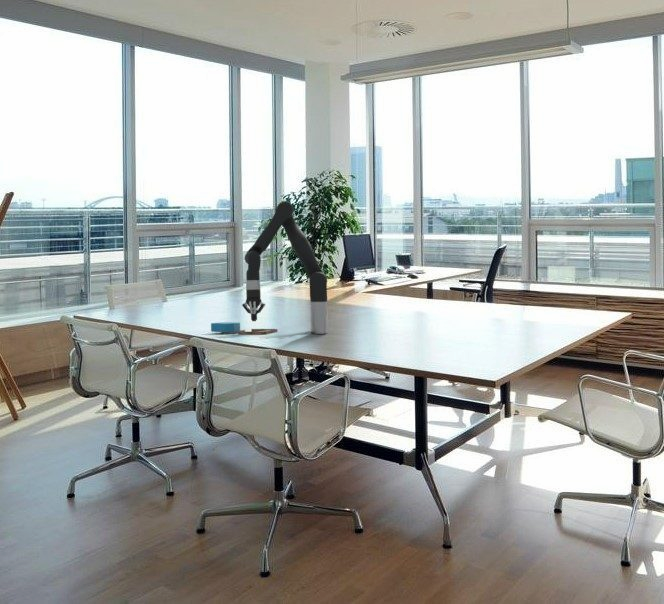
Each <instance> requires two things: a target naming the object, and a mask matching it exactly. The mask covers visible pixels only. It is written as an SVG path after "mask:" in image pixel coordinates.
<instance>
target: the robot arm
mask: <svg viewBox="0 0 664 604" xmlns="http://www.w3.org/2000/svg"><path fill="white" fill-rule="evenodd" d="M274 211H275V212H274V215H272V218H271V220H270V221H269V222H268V224H267V225H266V226H265V228H264V229H263V230H262V232H261V233H260V235H259V236H258V237H257V239H256V240H255V242H254V244H252V246H251V247H250V248H249V249H248V250H247V252H246V254H245V255H244V261H245V263H246V264H247V270H246V274H245V275H246V276H245V277H246V281H245V284H246V285H245V289H246V293H245V294H246V299H245V302H244V303H242V304H241V306H242V308H244V310H245V311H246V313H247V314H249V315H250V319H251V321H252V322H256V321H257V320H258V314H259V313H261V312H262V310H263V309H264V308H265V306H266V303H264V302H262V298H261V296H262V295H261V293H262V292H261V280H260V269H261V261H262V259H261V255H262V254H263V252H265V251H266V250H267V249H268V248H269V246H270V244H272V242H273V240H274V238H275V236H276V234H278V232H279V230H280V228H281V227H282V228H283V229H284V231H285V234H286V236H287V239H288V241H289V243H290V245H291V247H292V250H293V251H294V253H295V254H296V256H297V258H298V259H299V261H300V263H301V264H302V265H303V266H304V268H305V271H306V272H307V274H308V278H309V297H310V298H309V300H310V307H309V309H310V333H311V334H314V335H315V334H317V335H318V334H322V335H323V334H329V333H330V323H329V322H330V321H329V320H330V319H329V318H330V317H329V316H330V315H328V314H329V313H328V290H327V289H328V288H327V287H328V285H327V284H328V277H327V276H326V274H325V272H324V270H322V268H321V266H320V265H319V263H318V261H317V259H316V256H315V255H316V254H315V252H314V250H313V248H312V245H311V243H310V242H309V239H308V238H307V236H306V235H305V233H304V232H303V231H302V230H301V228H300V227H299V226H298V224H297V222H296V220H295V218H294V215H293V214H294V205H293V204H292V203H291V202H290V201H286V200H284V201H281V202H279V203H278V204H277V206H276V207H275V210H274ZM328 332H329V333H328Z"/></svg>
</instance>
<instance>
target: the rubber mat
mask: <svg viewBox="0 0 664 604" xmlns="http://www.w3.org/2000/svg"><path fill="white" fill-rule="evenodd" d="M238 332H246V330H245V329H243V330H242V329H240V331H236V332H220V334H221V335H237V334H238Z"/></svg>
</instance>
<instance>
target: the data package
mask: <svg viewBox="0 0 664 604" xmlns="http://www.w3.org/2000/svg"><path fill="white" fill-rule="evenodd" d="M240 330H241V322H238V321H237V322H231V321H225V322H211V323H210V332H212V333H221V332H236V331H240Z"/></svg>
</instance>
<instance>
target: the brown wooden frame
mask: <svg viewBox="0 0 664 604" xmlns="http://www.w3.org/2000/svg"><path fill="white" fill-rule="evenodd" d="M267 330H269V331H267ZM258 331H265V332H258ZM277 332H278V329H277V328H251V331H245V332H238V336H239V335H243V336H244V335H247V336H248V335H251V336H252V335H255V336H256V335H257V336H258V335H259V336H265V335H269V334H273V333H277Z"/></svg>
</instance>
